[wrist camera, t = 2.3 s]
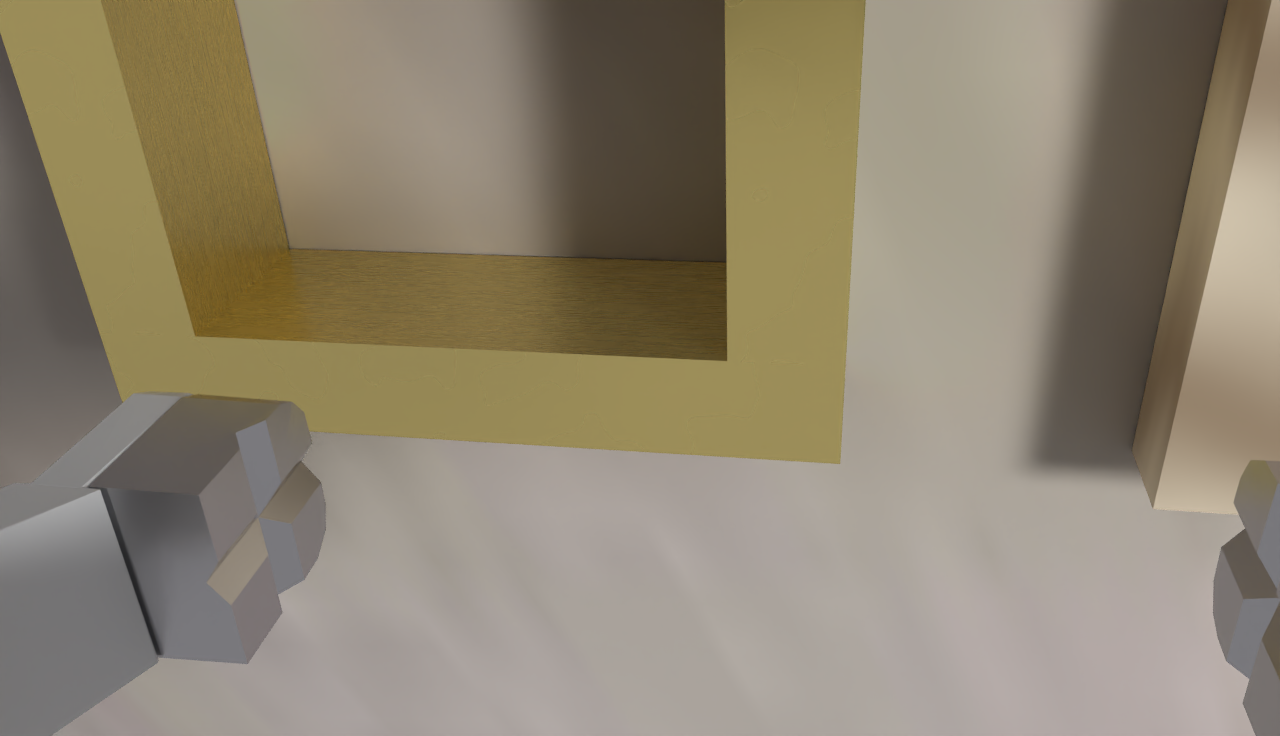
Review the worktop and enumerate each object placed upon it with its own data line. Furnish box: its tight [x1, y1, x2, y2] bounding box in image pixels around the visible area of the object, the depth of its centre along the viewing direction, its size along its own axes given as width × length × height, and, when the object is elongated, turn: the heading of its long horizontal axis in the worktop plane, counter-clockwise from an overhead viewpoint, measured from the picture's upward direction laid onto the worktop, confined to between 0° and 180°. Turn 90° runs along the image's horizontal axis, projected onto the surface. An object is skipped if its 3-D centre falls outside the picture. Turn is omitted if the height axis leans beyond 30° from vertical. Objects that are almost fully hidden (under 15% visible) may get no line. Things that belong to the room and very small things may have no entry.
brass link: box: [0, 0, 866, 464], centre depth 20 cm, size 12×14×4 cm
